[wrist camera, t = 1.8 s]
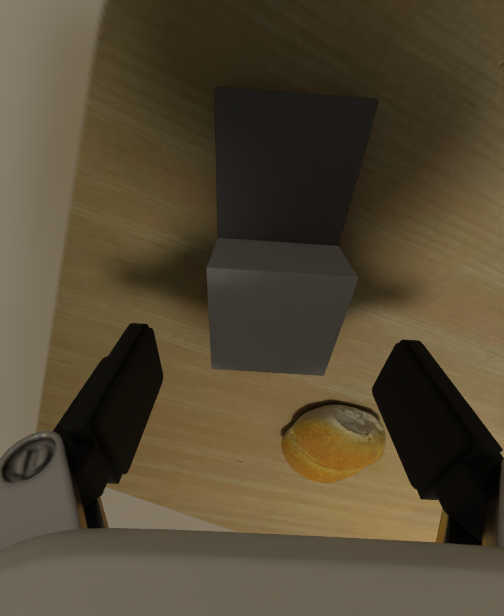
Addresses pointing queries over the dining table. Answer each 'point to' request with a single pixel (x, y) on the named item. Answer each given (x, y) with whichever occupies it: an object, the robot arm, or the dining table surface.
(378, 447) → the bread roll
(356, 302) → the dining table surface
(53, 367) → the dining table surface
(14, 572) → the robot arm
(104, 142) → the dining table surface
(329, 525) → the dining table surface
